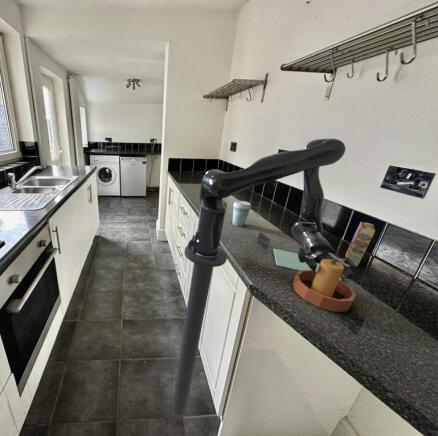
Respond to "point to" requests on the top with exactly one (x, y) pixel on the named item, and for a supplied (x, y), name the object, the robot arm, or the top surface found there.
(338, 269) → the orange cylinder
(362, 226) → the candy box
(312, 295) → the ring
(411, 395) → the top surface
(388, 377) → the top surface
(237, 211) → the coffee cup
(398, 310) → the top surface
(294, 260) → the towel
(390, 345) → the top surface
